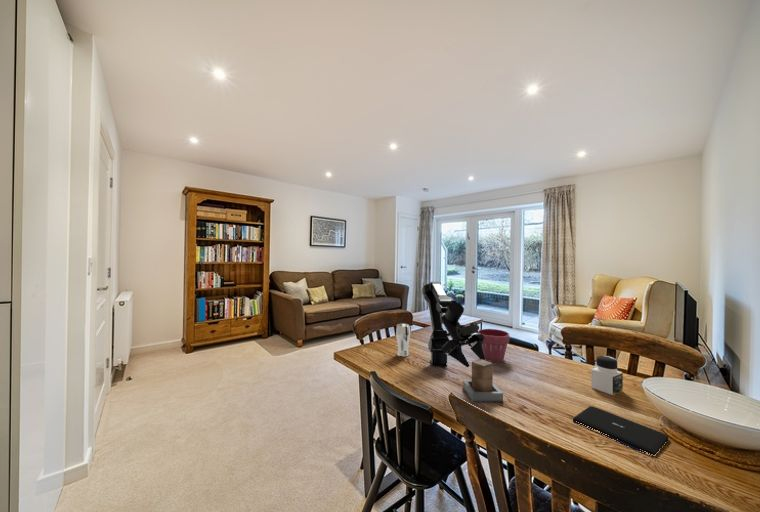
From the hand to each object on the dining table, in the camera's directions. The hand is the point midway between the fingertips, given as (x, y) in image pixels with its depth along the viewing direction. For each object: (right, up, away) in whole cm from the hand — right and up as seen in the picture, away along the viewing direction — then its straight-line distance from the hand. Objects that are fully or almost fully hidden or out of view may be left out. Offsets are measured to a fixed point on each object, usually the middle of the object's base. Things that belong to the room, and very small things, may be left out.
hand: (476, 363), depth 103 cm
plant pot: (+19, -10, +33) cm, 40 cm away
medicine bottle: (+49, -10, +2) cm, 50 cm away
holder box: (+1, -10, -2) cm, 10 cm away
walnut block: (+1, -10, -2) cm, 10 cm away
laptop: (+33, -11, -22) cm, 41 cm away
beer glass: (-24, -10, +38) cm, 46 cm away
